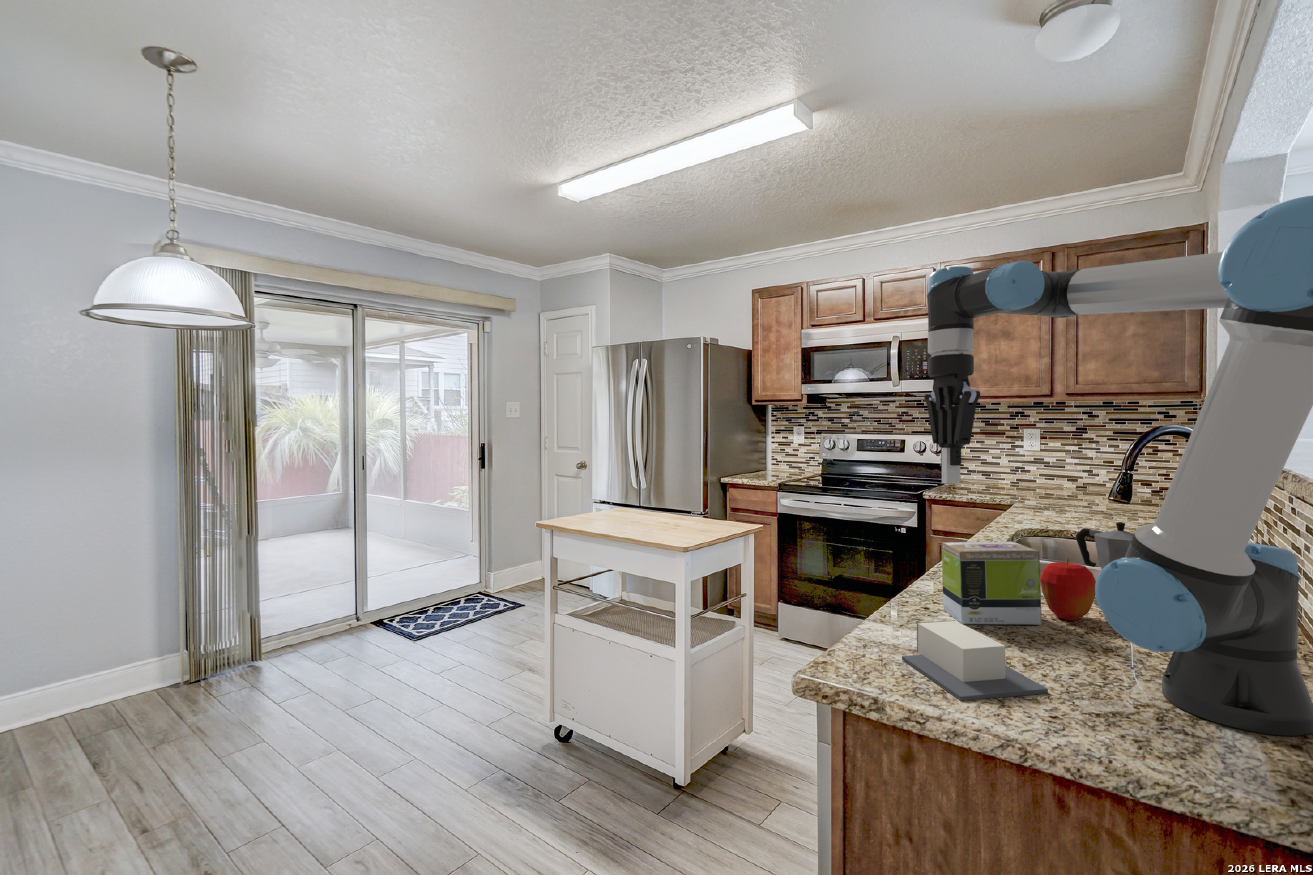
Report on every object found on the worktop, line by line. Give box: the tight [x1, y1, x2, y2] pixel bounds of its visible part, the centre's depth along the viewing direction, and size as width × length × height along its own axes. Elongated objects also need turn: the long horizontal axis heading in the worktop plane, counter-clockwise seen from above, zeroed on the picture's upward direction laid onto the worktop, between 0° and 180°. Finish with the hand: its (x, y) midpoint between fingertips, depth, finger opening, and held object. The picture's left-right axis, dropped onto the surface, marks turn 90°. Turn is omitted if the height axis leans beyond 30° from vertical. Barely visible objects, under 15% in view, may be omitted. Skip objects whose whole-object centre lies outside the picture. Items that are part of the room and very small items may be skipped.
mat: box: [901, 654, 1049, 702], centre depth 93 cm, size 15×14×1 cm
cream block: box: [916, 619, 1006, 682], centre depth 96 cm, size 5×7×12 cm
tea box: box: [941, 541, 1043, 626], centre depth 120 cm, size 15×10×15 cm, turn 84°
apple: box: [1040, 559, 1096, 621], centre depth 119 cm, size 9×9×12 cm
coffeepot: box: [1075, 521, 1134, 607], centre depth 126 cm, size 15×9×18 cm, turn 25°
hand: (950, 483), depth 109 cm, fingers closed
